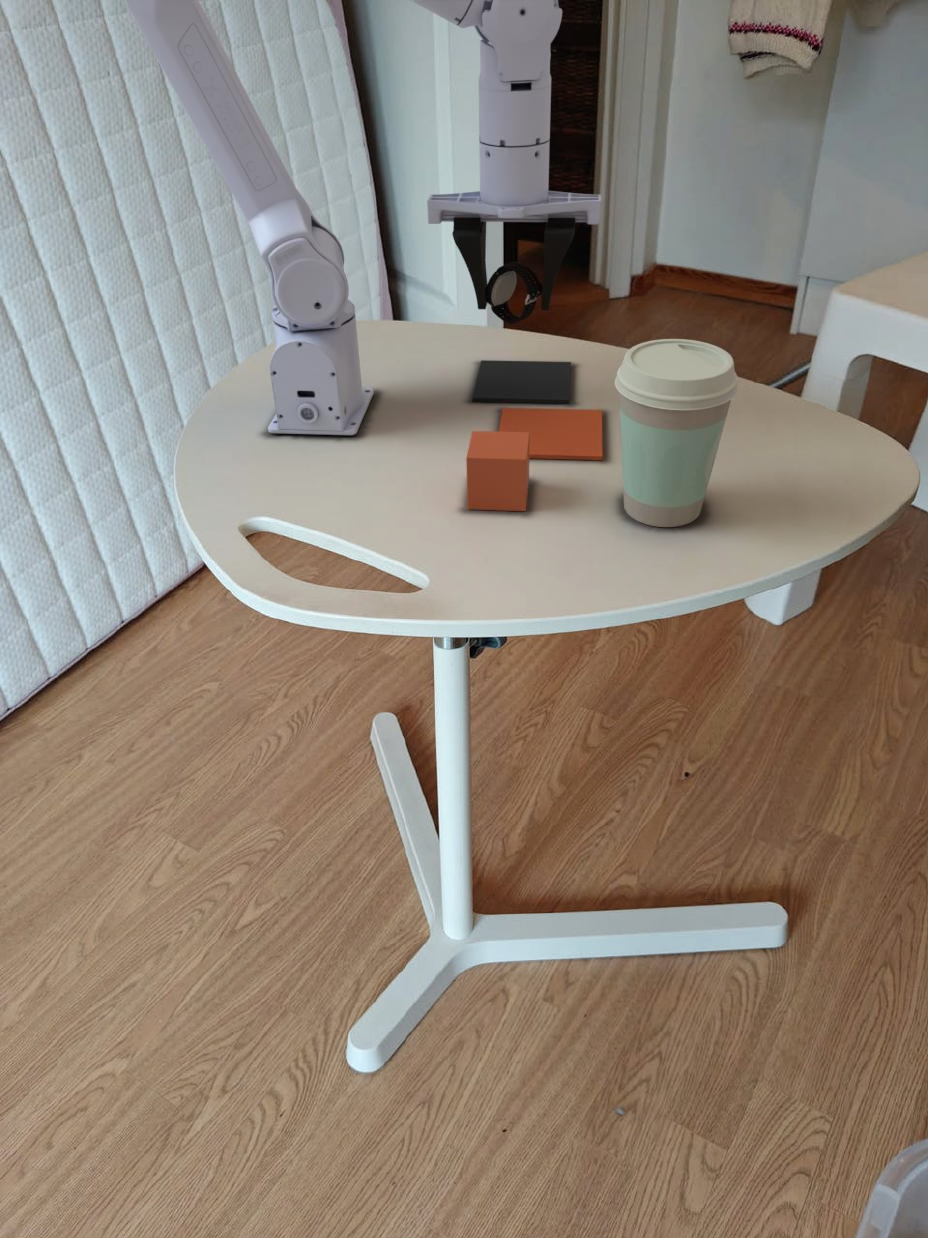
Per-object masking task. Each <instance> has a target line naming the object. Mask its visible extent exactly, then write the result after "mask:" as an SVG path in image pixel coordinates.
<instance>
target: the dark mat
mask: <svg viewBox="0 0 928 1238" xmlns="http://www.w3.org/2000/svg"><path fill="white" fill-rule="evenodd" d="M571 369H572V361H543V360H542V361H540V360H539V361H537V360H536V361H535V360H533V361H532V360H485V359H484V360H483V359H482V360H480V364H479V368H478V372H477V377H476V379H475V386H474V390H473V393H472V396H471V397H472V398H471V400H472V402H474V403H475V402H476V403H478V402H479V403H480V402H481V403H522V404H523V403H524V404H567V405H568V404H570V392H571V391H570V390H571V371H572V370H571Z"/></svg>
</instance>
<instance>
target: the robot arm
mask: <svg viewBox="0 0 928 1238" xmlns="http://www.w3.org/2000/svg"><path fill="white" fill-rule="evenodd" d="M410 1H411V2H413V3H414V4H416V5H418V6H419V7H422V8H423V9H425V10H427V11H429V12H431V13H433V14H435V15H436V16H439V17H440V18H442V19H444V20H446V21H448V22H450V23H452V24H453V25H456V26H457V27H459V28H461V29H466V28H469V27H473V28H474V30H475V31H476V33H477V35H478V36H479V37H480V38H481V39H480V40H479V50H480V51H479V59H480V61H479V62H480V63H479V65H480V67H479V68H480V73H479V76H478V124H479V125H478V136H479V137H478V138H479V139H478V140H479V141H478V142H479V144H478V145H479V147H478V148H479V190H476V191H466V192H465V191H464V192H455V193H454V192H453V193H437V194H436V193H435V194H434V193H431V194H430V195H429V196H428V198H427V200H426V207H427V208H426V209H427V223H428V224H430V225H439V224H442V222H443V223H444V222H446V223H447V222H448V223H449V222H452V223H453V228H452V233H451V234H452V238H453V241H454V244H455V245H456V248H457V249H458V251H459V253H460V254H461V257H462V260H463V261H464V263H465V266H466V268H467V271H468V273H469V276H470V279H471V282H472V286H473V289H474V293H475V297H476V303H477V310H487V306H488V302H487V300H486V287H487V284H488V273H487V223H492V222H493V223H545V227H544V233H543V234H544V236H543V237H544V238H543V239H544V242H543V250H544V251H543V258H544V259H543V281H542V287H543V289H542V294H541V299H540V303H541V304H540V310H541V311H550V307H551V299H552V293H553V289H554V285H555V282H556V279H557V275H558V272H559V270H560V268H561V265H562V263H563V260H564V259H565V256H566V254H567V252H568V250H569V249H570V246H571V244H572V241H573V239H574V237H575V232H576V223H586V224H587V225H601V214H602V212H601V211H602V194H591V193H589V194H587V193H577V192H575V193H574V192H564V191H555V190H549V186H550V185H549V183H550V182H549V181H550V180H549V179H550V142H551V141H550V140H551V109H552V108H551V103H552V99H551V98H552V75H551V56H552V53H551V44H552V43H553V41H554V39H556V38H555V37H556V36H557V34H558V32H559V30H560V26H561V23H562V18H563V9H562V8H561V7H560V5H559V0H410ZM123 2H124V3H125V6H126V7H127V9H128V11H129V12H130V14H131V16H132V18H133V20H134V21H135V24H136V25H137V26H138V28H139V30H140V32H141V35H142V36H143V37H144V39H145V41H146V43H147V45H148V46H149V48H150V50H151V52H152V53H153V55H154V57H155V59H156V60H157V62H158V64H159V66H160V68H161V69H162V71H163V73H164V75H165V76H166V78H167V80H168V82H169V84H170V85H171V87H172V89H173V91H174V93H175V94H176V96H177V99H179V101H180V103H181V105H182V107H183V108H184V110H185V112H186V114H187V117H188V118H189V119H190V121H191V123H192V124H193V126H194V128H195V130H196V132H197V133H198V135H199V137H200V139H201V141H202V142H203V144H204V146H205V148H206V149H207V151H208V153H209V155H210V157H211V158H212V160H213V162H214V164H215V166H216V167H217V169H218V171H219V173H220V175H221V176H222V178H223V180H224V181H225V184H226V186H227V187H228V189H229V190H230V192H231V195H232V196H233V198H234V199H235V201H236V203H237V204H238V205H237V206H238V207H239V208H240V210H241V212H242V214H243V215H244V217H245V219H246V221H247V222H248V225H249V228H250V231H251V233H252V236H253V239H254V242H255V245H256V248H257V250H258V254H259V256H260V258H261V260H262V261H263V263H264V265H265V267H266V269H267V271H268V274H269V279H270V294H271V299H272V301H273V304H274V305H273V306H272V308H271V318H272V326H273V332H274V333H273V334H274V340H275V348H274V350H273V353H272V355H271V357H270V363H269V375H270V382H271V390H272V395H273V402H274V410H275V414H274V416H273V418H272V420H271V421H270V423H269V425H268V426H267V430H268V433H270V434H286V435H287V434H288V435H322V436H324V435H325V436H327V435H328V436H354V435H356V434H357V433H358V431H359V428H360V427H361V424H362V421H363V419H364V417H365V415H366V412H367V410H368V408H369V406H370V403H371V400H372V398H373V396H374V394H375V388H373V387H372V386H363V383H362V382H363V381H362V371H361V362H360V351H359V337H358V328H357V327H358V326H357V319H356V307H355V304H354V303H353V302H352V301H351V300H349V291H350V289H349V282H348V278H347V275H346V273H345V255H344V249H343V246H342V244H341V242H340V240H339V239H338V237H337V236H336V234H334V232H333V231H331V230H330V229H329V228H327V227H326V226H325V225H323V224H322V223H321V222H320V221H319V220H318V218H317V217H316V216H315V214H314V213H313V212H312V209H311V208H310V206H309V204H308V202H307V201H306V199H305V198H304V197H303V195H302V194H301V192H300V191H299V190H298V188H297V187H296V185H295V184H294V181H293V180H292V178H291V176H290V174H289V172H288V170H287V168H286V166H285V164H284V162H283V161H282V160H283V159H282V158H281V157H280V154H279V152H278V151H277V148H276V147H275V145H274V143H273V141H272V139H271V137H270V135H269V134H268V133H269V132H268V131H267V129H266V127H265V126H264V124H263V122H262V120H261V118H260V116H259V114H258V111H257V110H256V108H255V106H254V104H253V102H252V101H251V99H250V97H249V94H248V93H247V91H246V89H245V87H244V85H243V83H242V82H241V81H242V80H241V79H240V77H239V75H238V74H237V72H236V69H235V67H234V66H233V64H232V62H231V60H230V58H229V56H228V54H227V52H226V50H225V48H224V47H223V44H222V43H221V41H220V38H219V36H218V35H217V33H216V31H215V29H214V28H213V26H212V24H211V22H210V19H209V18H208V16H207V14H206V12H205V10H204V9H203V6H202V4H201V2H200V0H123Z"/></svg>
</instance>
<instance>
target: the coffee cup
mask: <svg viewBox="0 0 928 1238" xmlns="http://www.w3.org/2000/svg"><path fill="white" fill-rule="evenodd" d="M738 382H739V378H738V374H737V372H736V370H735V362H734V358H733V357H732V355H731V353H729V352H727V351H726V350H725V349H723V348H721V347H720V346H717V345H714V344H711V343H708V342H703V341H700V340H694V339H686V338H662V339H661V338H660V339H654V340H653V339H652V340H649V341H643V342H641V343H639V344H636V345H634V346H632V347H630V348H629V349H628V350H627V351H626V352H625V355H624V357H623V360H622V362H621V365H620V366H619V367H618V369H617V372H616V377H615V380H614V386H615V388H616V390H617V391H618V396H619V399H618V401H619V422H620V424H619V425H620V426H619V427H620V445H621V446H620V447H621V448H620V449H621V471H622V472H621V473H622V490H623V491H622V492H623V495H622V496H623V509H624V511H625V512H626V514H627V515H628V516H629V517H630V518H632V519H633V520H635V521H637V522H638V523H642V524H644V525H647V526H651V527H659V528H674V527H681V526H685V525H689V524H690V523H692V522H694V521H695V520H696V519H698V517H700V515H701V511H702V508H703V503H704V501H705V497H706V494H707V490H708V487H709V484H710V479H711V475H712V472H713V468H714V465H715V461H716V458H717V453H718V450H719V446H720V443H721V439H722V435H723V432H724V427H725V424H726V420H727V417H728V413H729V410H730V406H731V402H732V399H733V398H735V396H736V395H737V394H738V392H739V385H738Z"/></svg>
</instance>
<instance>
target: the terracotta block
mask: <svg viewBox="0 0 928 1238" xmlns="http://www.w3.org/2000/svg"><path fill="white" fill-rule="evenodd" d="M529 447H530V433H529V432H499V431H495V430H493V431H491V430H490V431H489V430H472V431H471V435H470V440H469V444H468V449H467V453H466V457H465V458H466V460H465V461H466V495H467V496H466V497H467V499H466V501H467V510H472V511H473V510H476V511H477V510H478V511H502V512H503V511H504V512H509V511H510V512H526V511H527V503H528V494H529V486H530V485H529V484H530V458H529Z"/></svg>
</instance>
